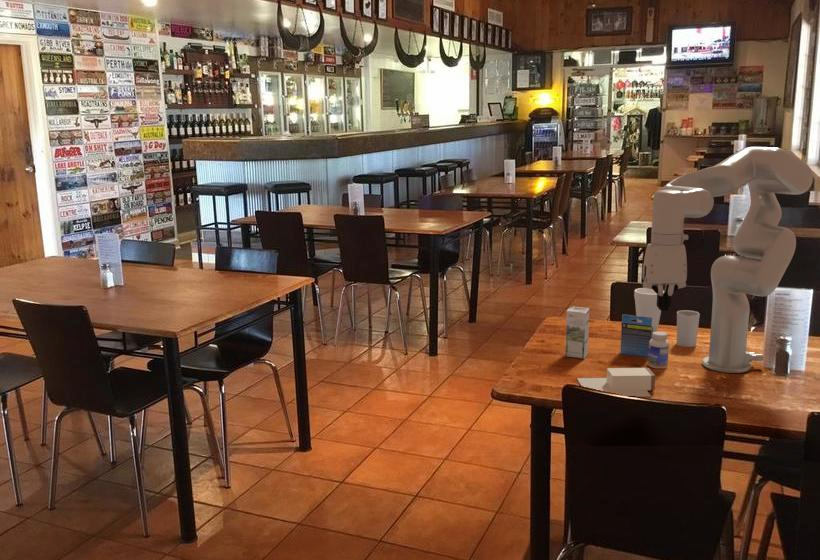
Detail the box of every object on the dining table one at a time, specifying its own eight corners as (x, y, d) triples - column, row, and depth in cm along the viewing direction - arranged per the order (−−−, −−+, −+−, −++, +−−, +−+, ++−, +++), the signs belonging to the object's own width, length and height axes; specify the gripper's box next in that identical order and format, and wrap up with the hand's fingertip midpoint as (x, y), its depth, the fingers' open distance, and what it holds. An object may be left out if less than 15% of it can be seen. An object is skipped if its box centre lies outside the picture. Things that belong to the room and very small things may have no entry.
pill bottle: (643, 364, 214) (645, 331, 212) (659, 361, 216) (660, 329, 213) (656, 370, 209) (657, 336, 207) (671, 367, 211) (673, 334, 208)
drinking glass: (699, 347, 228) (702, 316, 225) (677, 347, 229) (679, 315, 226) (695, 341, 234) (697, 310, 232) (673, 340, 235) (675, 310, 233)
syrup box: (588, 353, 224) (589, 307, 221) (584, 359, 219) (585, 312, 215) (569, 351, 226) (570, 305, 223) (564, 357, 221) (566, 310, 218)
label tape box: (652, 353, 223) (654, 314, 220) (650, 357, 219) (652, 317, 216) (622, 350, 227) (624, 311, 224) (619, 354, 223) (621, 314, 220)
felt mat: (636, 378, 202) (636, 377, 202) (650, 396, 189) (650, 395, 189) (577, 379, 202) (577, 378, 202) (587, 397, 190) (587, 395, 190)
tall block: (648, 367, 198) (606, 368, 198) (655, 375, 192) (612, 375, 192) (647, 382, 198) (606, 382, 199) (654, 390, 193) (611, 390, 193)
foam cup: (643, 323, 254) (645, 286, 252) (668, 329, 247) (670, 291, 245) (627, 328, 249) (629, 291, 246) (651, 334, 242) (653, 295, 239)
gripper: (691, 236, 191) (687, 305, 195) (632, 237, 191) (629, 306, 195) (702, 241, 184) (697, 313, 188) (641, 242, 184) (638, 314, 188)
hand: (663, 309), depth 191 cm, fingers closed
